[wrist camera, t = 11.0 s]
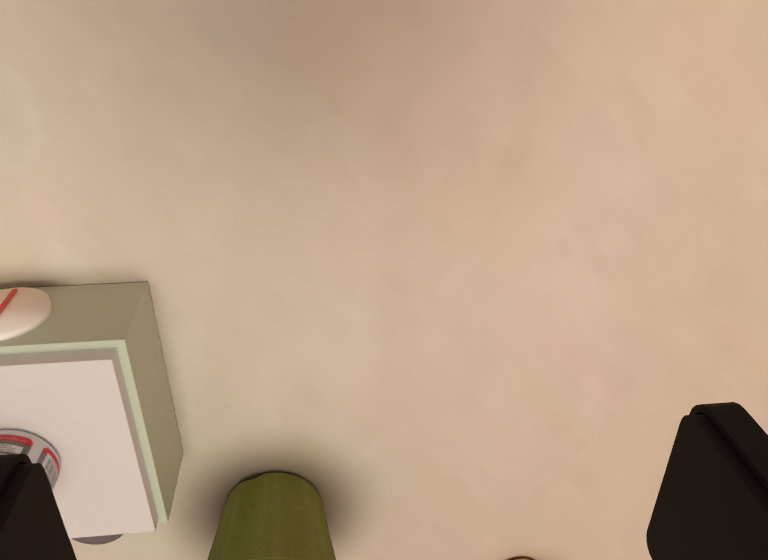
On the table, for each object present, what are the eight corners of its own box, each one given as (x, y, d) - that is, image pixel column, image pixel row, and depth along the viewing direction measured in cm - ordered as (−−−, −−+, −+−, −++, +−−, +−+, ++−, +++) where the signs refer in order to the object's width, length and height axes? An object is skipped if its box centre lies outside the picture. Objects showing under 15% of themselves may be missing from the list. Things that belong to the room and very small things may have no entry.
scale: (-106, 284, 37) (-184, 357, 31) (146, 272, 39) (117, 340, 33) (-26, 468, 45) (-77, 556, 39) (182, 453, 46) (165, 535, 40)
